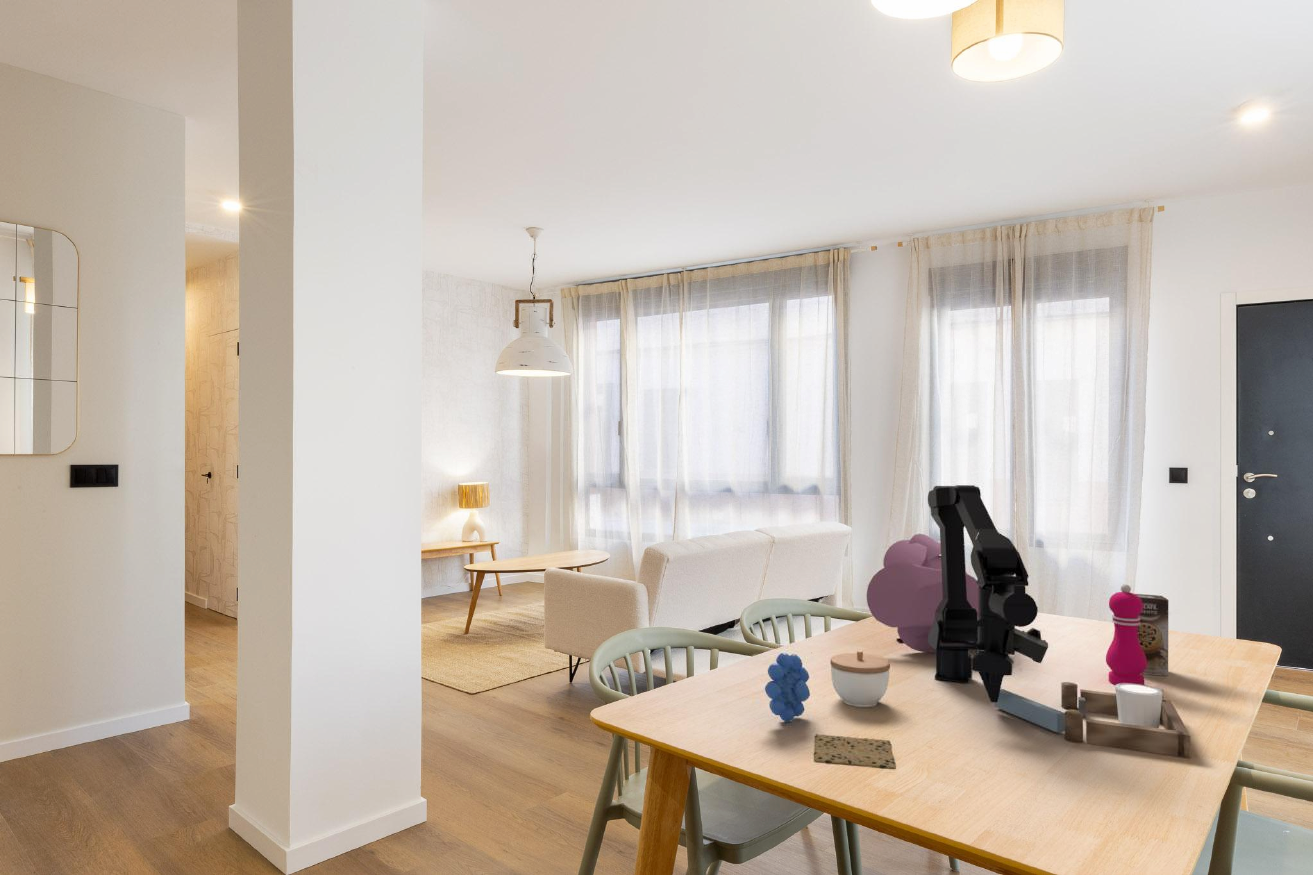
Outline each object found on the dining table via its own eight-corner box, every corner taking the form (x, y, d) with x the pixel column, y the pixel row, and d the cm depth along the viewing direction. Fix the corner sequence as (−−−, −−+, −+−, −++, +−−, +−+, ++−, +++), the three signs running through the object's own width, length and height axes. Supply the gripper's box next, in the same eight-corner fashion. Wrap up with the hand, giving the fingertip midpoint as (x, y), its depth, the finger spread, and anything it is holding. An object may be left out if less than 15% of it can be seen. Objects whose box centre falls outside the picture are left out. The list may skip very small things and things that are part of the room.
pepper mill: (1153, 689, 155) (1152, 588, 156) (1113, 687, 157) (1112, 586, 157) (1138, 679, 162) (1138, 582, 163) (1100, 677, 164) (1100, 580, 164)
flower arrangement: (921, 645, 212) (904, 540, 218) (1014, 639, 198) (993, 528, 204) (873, 658, 184) (855, 537, 190) (977, 653, 170) (954, 523, 177)
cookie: (890, 742, 126) (890, 736, 127) (897, 772, 115) (897, 765, 115) (814, 736, 129) (814, 730, 129) (813, 764, 117) (813, 758, 117)
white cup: (1105, 723, 135) (1105, 682, 135) (1143, 722, 136) (1143, 682, 136) (1133, 738, 128) (1133, 694, 128) (1172, 737, 129) (1172, 694, 129)
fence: (1065, 740, 127) (1064, 712, 127) (1061, 704, 146) (1061, 679, 146) (1191, 759, 119) (1190, 728, 119) (1169, 718, 138) (1169, 691, 138)
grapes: (789, 736, 128) (789, 662, 128) (755, 726, 132) (756, 654, 133) (827, 719, 136) (827, 650, 136) (794, 710, 141) (795, 643, 141)
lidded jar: (837, 690, 153) (837, 642, 154) (894, 698, 149) (894, 648, 149) (824, 706, 144) (824, 654, 144) (884, 714, 139) (884, 661, 139)
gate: (1057, 732, 129) (1056, 714, 129) (994, 706, 143) (994, 689, 143) (1065, 731, 130) (1065, 713, 130) (1002, 705, 143) (1002, 689, 143)
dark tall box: (1119, 671, 168) (1119, 596, 169) (1114, 664, 174) (1114, 591, 175) (1169, 676, 165) (1169, 599, 165) (1163, 668, 171) (1162, 594, 171)
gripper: (1045, 629, 129) (1044, 725, 129) (1045, 610, 146) (1044, 694, 146) (972, 622, 134) (971, 714, 134) (980, 603, 151) (979, 685, 151)
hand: (994, 701), depth 141 cm, fingers closed
